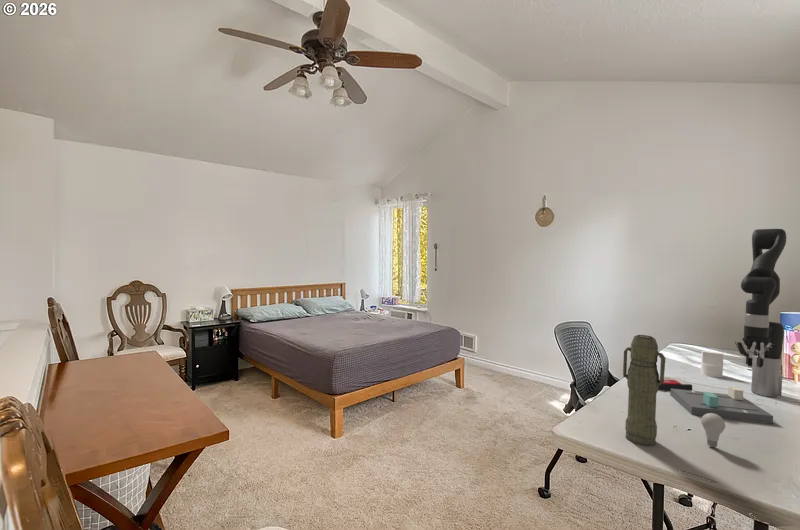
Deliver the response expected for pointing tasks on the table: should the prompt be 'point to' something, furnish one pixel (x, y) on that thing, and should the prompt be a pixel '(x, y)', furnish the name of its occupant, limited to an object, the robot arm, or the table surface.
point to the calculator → (674, 384)
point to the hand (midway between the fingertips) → (754, 366)
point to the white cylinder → (712, 364)
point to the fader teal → (710, 399)
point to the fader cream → (735, 393)
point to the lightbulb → (712, 428)
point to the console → (721, 406)
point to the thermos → (643, 389)
